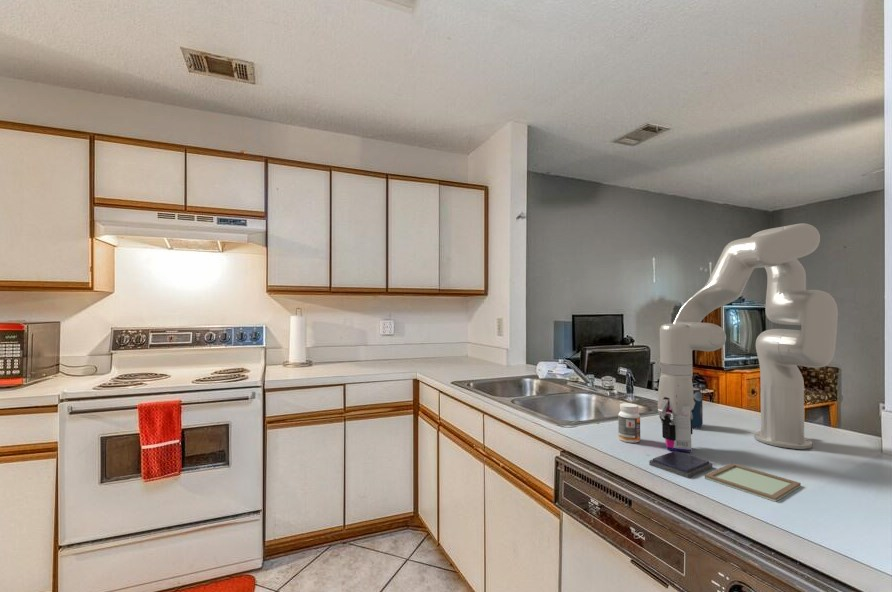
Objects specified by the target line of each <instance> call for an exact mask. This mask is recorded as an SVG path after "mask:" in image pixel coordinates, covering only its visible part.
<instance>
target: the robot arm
mask: <svg viewBox="0 0 892 592" xmlns="http://www.w3.org/2000/svg"><path fill="white" fill-rule="evenodd" d="M820 243H821V235H820V232H819V230H818V228H816V227H815V226H813V225H811V224H809V223H805V222H804V223H796V224H789V225H785V226H779V227H773V228H768V229H763V230H760V231H758V232H755V233H753V234H752V235H751V236H749V237H743V238H739V239H735V240H732V241H730V242H728V244H726V245H725V246H724V248H723V250H722V252H721V254H720V256H719V257H718V260H717V262H716V263H715V266H714V268H713V270H712V272H711V274H710V276H709V277H708V280H707V282H706V284H705V285H704V286H703V287H702V288H701V289H699V290H698V291H696V293H694V295H692V297H690V298H689V299H688V300H686V302H684V304H683V305H682V306H681V308H680V309H679V311H678V313H677V314H676V315H675V316H676V317H675V318H674V320H673V322H672V323H664V324H662V325H661V326H659V355H660V357H659V360H660V361H659V362H660V364H659V365H660V366H659V367H660V376H659V382H658V390H657V413H658V415H659V419H660V423H661V429H662V430H661V431H662V433H661V434H662V435H661V436H662V438H663V439H669V440H672V441H675V440H676V429H675V425H673V424H674V421H675V417H676V415H679V414H681V411H682V407H683V406H689V407H690V421H691V435H693V433H694V432H693V429H692V420H691V419H693V412H694V406H695V401H694V394H693V387H694V385H693V376H694V375H693V351H702V352H714V351H717V350H720V349H721V348H722V347H723V346H724V345H725V343H726V341H727V334H726V331H725V330H724V328H722V327H721V326H719V325H718V324H715V323H710V322H702V321H703V320H704V318H705V317H707V315H709V314H710V313H711V312H713V311H714V310H716V309H719V308H721V307H723V306H725V305H728V304H731V303H733V302H735V301H736V300H738V299H739V298H740V297H741V296H742V294H743V291H744V289H745V287H746V285H747V283H748V281H749V279H750V277H751V275H752V274H753V271H754V269H761V268H764V269H765V271H766V276H767V277H766V278H767V284H766V285H767V286H766V295H765V309H764V310H765V316H766V318H767V319H768V320H769V321H770V322H771V323H774V324H778V325H790V326H791V325H792V326H801V327H800V328H801V329H799V330H797V329H788V328H786V329H785V328H771V329H767V330H764V331H762V332H761V333H759V334H758V336H757V338H756V340H755V350H756V355H757V359H758V364H759V372H760V373H759V374H760V377H759V378H760V431H755V432H754V434H753V436H754V439H755V440H757V441H759V442H761V443H763V444H766V445H769V446H770V445H771V446H775V447H779V448H786V449H791V450H792V449H793V450H807V449H811V448H812V447H813V442H812V441H811V440H810V439H808V438H805V383H804V382H805V380H804V377H803V375H802V372H801V370H800V369H799V367H801V366H802V367H806V368H813V369H814V368H815V369H817V368H818V369H819V368H823V367H825V366H828V365H829V364H830V363H831V362H832V360H833V358H834V356H835V352H836V344H837V332H838V317H839V316H838V315H839V311H838V305H837V303H836V300H835V298H834V297H833V296H832V295H831V294H830V293H829V292H826V291H824V290H819V289H807V276H806V275H807V274H806V270H805V268H804V266H803V265H802V263H801V262H800V261H799V260H798V259H801V258H803V257H806V256H809V255H810V254H812V253H813V252H815V251H816V250H817V248H818V247H819V245H820ZM798 366H799V367H798ZM668 406H669V407H670V410H672V412H667V411H666V410H667V408H668ZM666 414H667V415H670V416H671V418H669V417H668V416H667V415H666Z"/></svg>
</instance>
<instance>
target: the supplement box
mask: <svg viewBox="0 0 892 592" xmlns="http://www.w3.org/2000/svg"><path fill="white" fill-rule="evenodd" d="M666 411H667V412H672V410H670V407H669V406H668V408H667V410H666ZM666 415H667V414H666ZM667 416H668V417H669V418H671V416H670V415H667ZM673 425H675V429H676V440H675V441H672V440H669V439H665V438H664V439H665V446H666V450H670V451H671V450H672V451H678V452H680V451H681V452H689V453H692V434H691V421H690V407H689V406H683V407H682V411H681V414H679V415H676V417H675V421H674V424H673Z"/></svg>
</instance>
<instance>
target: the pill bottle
mask: <svg viewBox="0 0 892 592" xmlns="http://www.w3.org/2000/svg"><path fill="white" fill-rule="evenodd" d="M619 409H620V411H619V412H618V419H617V420H618V422H617V425H618V429H617V430H618V432H617V433H618V439H619V440H620V441H621V442H625V443H629V444H630V443H633V444H636V443H639V442H640V441H641V415H640V413H639V412H638V411H639V406H638V405H637V404H635V403H628V402H626V403H625V402H624V403H620V404H619Z"/></svg>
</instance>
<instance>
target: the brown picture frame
mask: <svg viewBox="0 0 892 592" xmlns="http://www.w3.org/2000/svg"><path fill="white" fill-rule="evenodd" d="M704 479H705V480H708V481H712V482H715V483H718V484H721V485H722V486H723V485H724V486H727V487H730V488H733V489H736V490H739V491H742V492H744V493H747V494H751V495H754V496H756V497H760V498H763V499H766V500H770V501H772V502H778V501H779V500H781V499H783V498H784V497H785V496H787V495H790V494H791V493H793V492H794V491H795V490H797V489H798V488H801V486H802V485H801V483H802V482H798V481H796V480H792V479H790V478H789V479H788V478H785V477H781V476H778V475H774V474H772V473H768V472H765V471H760V470H759V469H758V470H757V469H754V468H751V467H746V466H743V465H740V464H737V463H733V462H731V463H729V464H726V465H725V466H722V467H720V468H718V469H715V470H713V471H711V472H709V473H706V474H704Z"/></svg>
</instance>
